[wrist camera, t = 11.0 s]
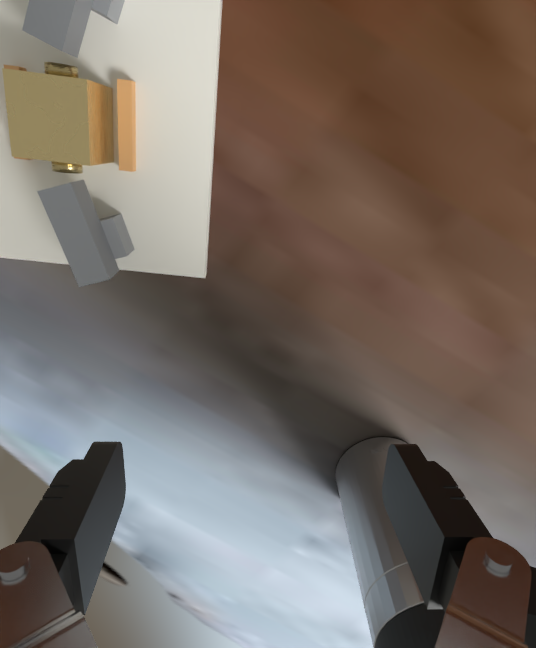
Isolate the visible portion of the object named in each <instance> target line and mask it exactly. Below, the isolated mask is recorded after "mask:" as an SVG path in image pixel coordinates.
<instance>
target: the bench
mask: <svg viewBox="0 0 536 648" xmlns="http://www.w3.org/2000/svg"><path fill="white" fill-rule="evenodd" d="M221 15H222V0H0V258H10V259H20V260H29V261H39V262H49V263H59V264H69V265H70V268H71V270H72V272H73V275H74V277H75V279H76V281H77V284H78V286H79V287H82V286H86V285H90V284H94V283H98V282H102V281H106V280H110V279H111V278H112V277H113V276H114V275H115V274H116V273H117V272H118V271H119V270H129V271H139V272H149V273H158V274H168V275H178V276H188V277H198V278H205V277H206V274H207V258H208V241H209V223H210V206H211V189H212V171H213V154H214V137H215V119H216V102H217V84H218V67H219V50H220V32H221ZM44 62H54V63H60V64H66V65H71V66H75V67H77V68H78V78H81V79H87V80H90V81H93V82H96V83H99V84H102V85H105V86H107V87H110V88H112V89H113V138H114V162H113V163H106V164H100V165H93V166H87V165H83V173H79V174H75V173H61V172H55V171H52V164H51V161H45V160H37V159H29V158H20V157H12V155H11V146H10V136H9V127H8V118H7V108H6V99H5V89H4V80H3V71H2V68H5V69H13V70H20V71H28V72H35V73H43V74H45V68H44Z"/></svg>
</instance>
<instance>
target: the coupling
mask: <svg viewBox="0 0 536 648" xmlns="http://www.w3.org/2000/svg"><path fill="white" fill-rule="evenodd" d="M44 68H45V74H43V73H35V72H28V71H20V70H13V69H5V68H2V71H3V80H4V89H5V99H6V108H7V118H8V127H9V136H10V146H11V155H12V157H20V158H29V159H37V160H45V161H51V164H52V171H55V172H61V173H75V174H79V173H83V165H87V166H93V165H100V164H106V163H113V162H114V138H113V89H112V88H110V87H107V86H105V85H102V84H99V83H96V82H93V81H90V80H87V79H81V78H78V68H77V67H75V66H71V65H66V64H60V63H54V62H44Z"/></svg>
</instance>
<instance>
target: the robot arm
mask: <svg viewBox="0 0 536 648" xmlns="http://www.w3.org/2000/svg"><path fill="white" fill-rule="evenodd" d="M335 474H336V483H337V487H338V492H339V496H340V500H341V505H342V510H343V514H344V519H345V523H346V528H347V532H348V537H349V541H350V546H351V550H352V554H353V559H354V563H355V568H356V572H357V577H358V581H359V586H360V590H361V594H362V599H363V603H364V608H365V612H366V616H367V620H368V625H369V629H370V634H371V638H372V643H373V647H374V648H536V568H534V567H531V566H529V564H528V562H527V561H526V559H525V558H524V557H523V556H522V555H521V554H520V553H519V552H518V551H517V550H515V549H514V548H513V547H511V546H510V545H508V544H506V543H504V542H502V541H500V540H497V539H494V538H493V537H492V536H491V534H490V533H489V531H488V530H487V528H486V527H485V525H484V524H483V522H482V521H481V519H480V518H479V516H478V515H477V513H476V512H475V510H474V509H473V507H472V506H471V504H470V503H469V501H468V500H466V499H465V496H464V494H463V493H462V491H461V490H460V489H458V485H457V484H456V482H455V481H454V479H453V478H452V476H451V475H450V473H449V472H448V471H446V470H445V469H444V468H443V467H441V466H440V465H439V464H438V463H436V462H435V461H427V460H426V458H425V456H424V455H423V453H422V452H421V450H420V448H419V447H418V446H417V445H416V444H407V443H406V442H404V441H401V440H398V439H395V438H389V437H377V438H371V439H367V440H364V441H362V442H359V443H357V444H356V445H354V446H352V447H351V448H350V449H349V450H347V451H346V452H345V453H344V455H343V456H342V457H341V458H340V460H339V462H338V464H337V468H336V472H335ZM125 491H126V483H125V471H124V459H123V448H122V443H121V442H93V443H92V445H91V447H90V449H89V451H88V452H87V454H86V456H85V458H84V460H72V461H71V462H69V463H68V464H67V465H66V466H64V467H63V468H62V469H61V470H59V471H58V473H57V474H56V476H55V478H54V479H53V481H52V483H51V484H50V488H48V489H47V491H46V493H45V494H44V496H43V499H42V500H41V501H40V503H39V504H38V506H37V507H36V509H35V511H34V513H33V514H32V516H31V517H30V519H29V521H28V523H27V524H26V526H25V527H24V529H23V531H22V533H21V534H20V535H19V537H18V539H17V540H16V542H15V544H12V545H9V546H7V547H5V548H3V549H1V550H0V648H98V647H97V644H96V642H95V640H94V638H93V636H92V634H91V631H90V629H89V627H88V625H87V622H86V620H85V618H84V616H83V615H85V613H86V610H87V607H88V604H89V602H90V599H91V596H92V593H93V590H94V587H95V585H96V582H97V579H98V576H99V573H100V571H101V568H102V565H103V562H104V559H105V556H106V553H107V551H108V548H109V545H110V542H111V539H112V536H113V534H114V531H115V528H116V525H117V522H118V519H119V517H120V514H121V511H122V508H123V504H124V500H125Z"/></svg>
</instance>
